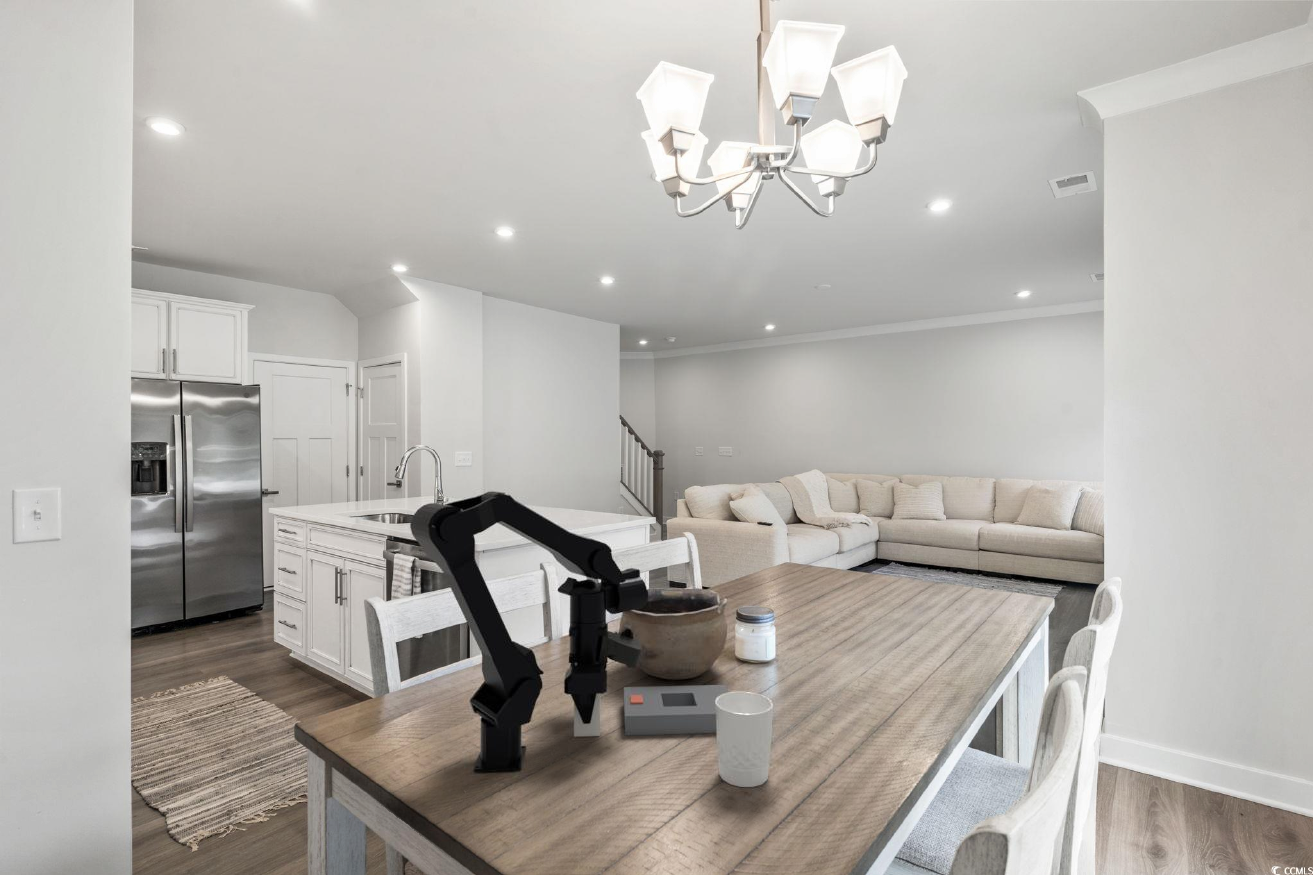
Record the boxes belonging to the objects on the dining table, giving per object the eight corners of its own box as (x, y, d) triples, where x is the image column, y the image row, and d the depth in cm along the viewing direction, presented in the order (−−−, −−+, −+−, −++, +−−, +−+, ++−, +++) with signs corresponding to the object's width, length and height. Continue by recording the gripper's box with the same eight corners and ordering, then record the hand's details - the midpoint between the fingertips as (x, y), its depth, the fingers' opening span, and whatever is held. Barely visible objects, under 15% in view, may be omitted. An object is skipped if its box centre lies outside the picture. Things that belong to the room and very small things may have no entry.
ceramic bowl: (733, 694, 116) (734, 612, 117) (614, 694, 116) (615, 611, 117) (720, 654, 139) (720, 585, 139) (620, 654, 139) (621, 585, 139)
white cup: (734, 755, 94) (734, 687, 94) (783, 773, 89) (783, 700, 89) (703, 776, 87) (703, 703, 88) (753, 797, 82) (753, 719, 83)
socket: (739, 732, 101) (739, 711, 101) (625, 735, 100) (625, 714, 100) (725, 701, 113) (725, 683, 113) (623, 704, 112) (623, 685, 112)
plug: (600, 736, 99) (600, 684, 100) (573, 736, 99) (573, 685, 99) (600, 724, 104) (601, 674, 104) (574, 725, 103) (575, 675, 103)
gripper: (641, 635, 93) (640, 743, 93) (636, 603, 112) (635, 693, 111) (564, 636, 92) (563, 745, 92) (571, 604, 111) (571, 695, 111)
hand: (587, 717), depth 101 cm, fingers closed on plug, 4 cm apart
